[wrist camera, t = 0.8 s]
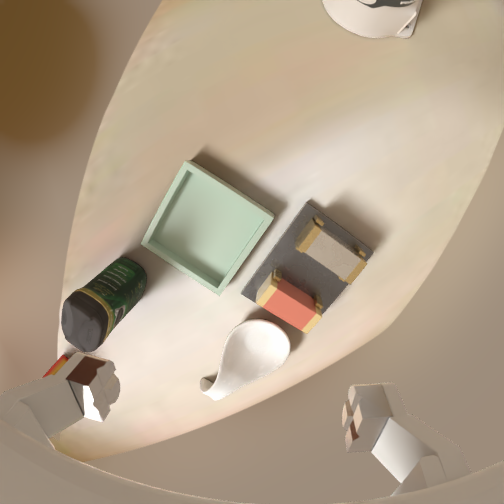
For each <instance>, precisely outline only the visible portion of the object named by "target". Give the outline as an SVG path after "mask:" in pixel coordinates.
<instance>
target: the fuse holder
mask: <svg viewBox="0 0 504 504" xmlns="http://www.w3.org/2000/svg"><path fill="white" fill-rule="evenodd" d="M373 253H374V252H373V251H372V250H371V249H369V248H368V247H367V246H366V245H364V244H363V243H362V242H360V241H359V240H358V239H356V238H355V237H354V236H352V235H351V234H350V233H348V232H347V231H346V230H344V229H343V228H342V227H340V226H339V225H338V224H336V223H335V222H334V221H332V220H331V219H329V218H328V217H327V216H325V215H324V214H323V213H321V212H320V211H318V210H317V209H316V208H314V207H313V206H311V205H310V204H308V203H307V202H306V203H305V204H304V206H303V207H302V209H301V210H300V211H299V213H298V214H297V216H296V217H295V218H294V220H293V221H292V223H291V224H290V225H289V227H288V228H287V229H286V231H285V232H284V234H283V235H282V236H281V238H280V239H279V241H278V242H277V243H276V245H275V246H274V247H273V249H272V250H271V252H270V253H269V254H268V256H267V257H266V258H265V260H264V261H263V263H262V264H261V265H260V267H259V268H258V269H257V271H256V272H255V274H254V275H253V276H252V278H251V279H250V280H249V282H248V283H247V284H246V286H245V287H244V289H243V290H242V292H241V294H242V295H244V296H245V297H247V298H249V299H250V300H252V301H253V302H255V303H256V301H257V295H258V290H259V288H260V287H261V285H262V284H263V283H264V281H265V280H266V279H267V277H268V276H269V275H270V273H271V272H273V273H274V276H273V278H274V279H275V280H277V281H278V282H280V281H281V279H282V278H283V279H284V280H286V281H287V282H289V283H290V284H292V285H293V286H295V287H297V288H298V289H300V290H301V291H303V292H304V293H306V294H307V295H309V296H311V297H312V298H314V299H315V305H316V306H317V307H319V308H321V313H322V314H323V313H324V312H325V311H326V309H327V308H328V307H329V306H330V305H331V304H332V303H333V301H334V300H335V299H336V298H337V297H338V296H339V294H340V293H341V292H342V291H343V290H344V289H345V287H346V286H347V285H348V284H350V285H351V283H352V282H353V281H354V280H355V279H356V277H357V276H358V275H359V274H360V272H361V271H362V270H363V269H364V268H365V266H366V265H367V263H366V262H367V260H368V259H369V258H370V257H371V255H372V254H373Z"/></svg>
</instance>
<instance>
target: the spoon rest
mask: <svg viewBox="0 0 504 504" xmlns="http://www.w3.org/2000/svg"><path fill="white" fill-rule="evenodd" d="M290 350H291V344H290V340H289V337H288V335H287V334H286V332H285V331H284V330H283V329H282V328H281V327H279V326H278V325H277V324H275V323H273V322H271V321H267V320H263V319H251V320H247V321H244V322H242V323H240V324H239V325H237V326H236V327H235V328H234V329H233V330H232V331H231V332H230V333H229V335H228V337H227V339H226V341H225V344H224V347H223V352H222V356H221V362H220V367H219V371H218V375H217V378H216V380H215V382H214V383H212V382H210V381H209V380H207V379H205V378H202V379H201V380H200V390H201V391H202V393H204V394H206V395H208V396H210V397H211V398H212V399H214V400H220V399H222V398H224V397H226V396H228V395H229V394H231V393H233V392H234V391H236V390H237V389H239V388H241V387H243V386H245V385H247V384H249V383H252V382H254V381H256V380H258V379H260V378H262V377H264V376H266V375H268V374H270V373H271V372H273V371H275V370H276V369H278V368H279V367H280V366H282V365H283V364H284V363H285V361H286V360H287V358H288V356H289V354H290Z"/></svg>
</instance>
